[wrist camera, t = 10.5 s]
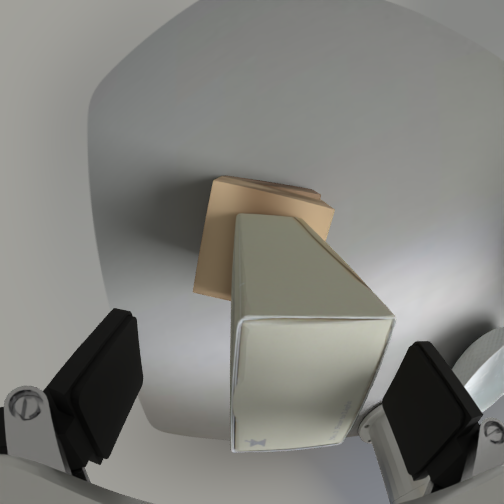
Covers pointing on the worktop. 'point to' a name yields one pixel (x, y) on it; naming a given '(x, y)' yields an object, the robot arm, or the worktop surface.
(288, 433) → the skincare box
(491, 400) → the cereal bowl
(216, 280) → the oak top block
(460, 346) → the worktop surface
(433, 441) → the robot arm
